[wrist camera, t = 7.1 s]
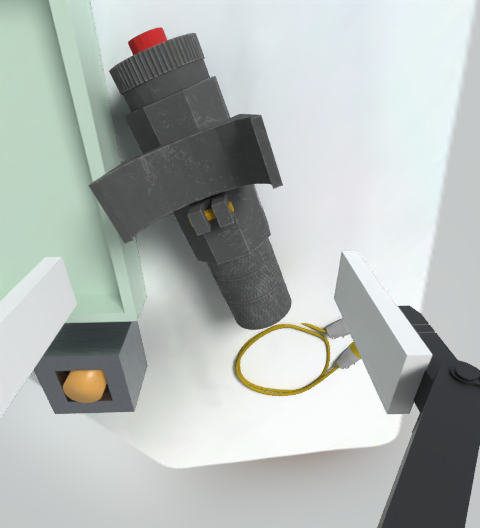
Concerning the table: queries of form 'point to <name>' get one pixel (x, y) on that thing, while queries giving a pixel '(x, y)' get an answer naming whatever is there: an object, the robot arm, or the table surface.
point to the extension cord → (344, 360)
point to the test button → (85, 385)
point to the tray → (60, 159)
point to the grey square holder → (95, 365)
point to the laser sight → (197, 173)
